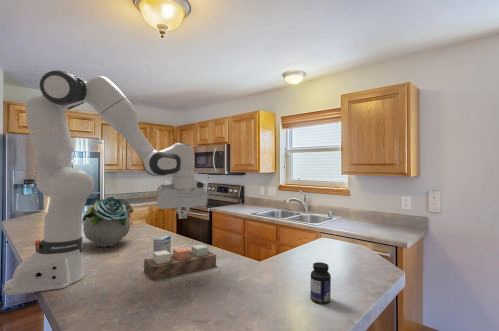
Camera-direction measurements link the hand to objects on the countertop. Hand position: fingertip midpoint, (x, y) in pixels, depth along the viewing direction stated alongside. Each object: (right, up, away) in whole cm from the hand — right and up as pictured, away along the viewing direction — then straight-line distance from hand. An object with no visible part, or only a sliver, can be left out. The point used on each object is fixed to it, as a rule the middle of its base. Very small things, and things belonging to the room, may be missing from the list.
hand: (182, 218), depth 112 cm
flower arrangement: (-46, -19, +29) cm, 58 cm away
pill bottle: (+49, -21, -25) cm, 59 cm away
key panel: (0, -20, -1) cm, 20 cm away
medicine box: (-13, -20, +14) cm, 28 cm away
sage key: (+6, -17, +4) cm, 19 cm away
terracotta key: (0, -17, 0) cm, 17 cm away
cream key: (-7, -17, -5) cm, 19 cm away
